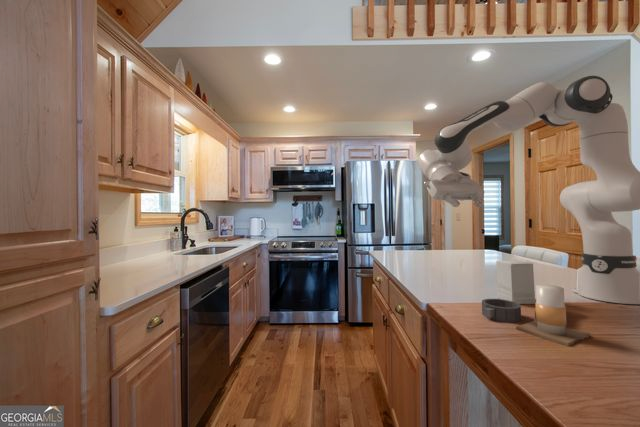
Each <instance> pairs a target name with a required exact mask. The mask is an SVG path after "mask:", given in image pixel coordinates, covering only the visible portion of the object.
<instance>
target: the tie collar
mask: <svg viewBox="0 0 640 427" xmlns="http://www.w3.org/2000/svg"><path fill="white" fill-rule="evenodd" d="M521 308H522V307H521V304H518V303H516V302H513V301H508V300H503V299H500V298H484V299H482V300H481V311H482V312H481V313H482V314H481V315H482V316H484V317H485V318H487V319H490V320H493V321H498V322H503V323H504V322H505V323H517V322H520V321H522V309H521Z"/></svg>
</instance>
